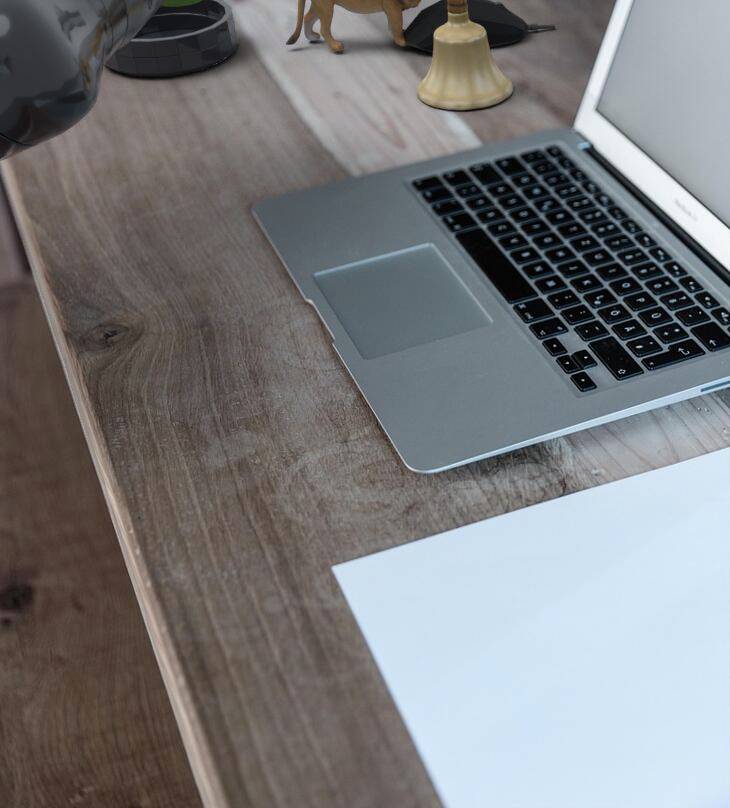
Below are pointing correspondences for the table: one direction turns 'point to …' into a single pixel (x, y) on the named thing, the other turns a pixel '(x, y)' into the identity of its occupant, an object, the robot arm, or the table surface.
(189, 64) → the pan
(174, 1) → the pickle
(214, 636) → the table surface
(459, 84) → the hand bell
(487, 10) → the gaming mouse
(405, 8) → the lion figurine
